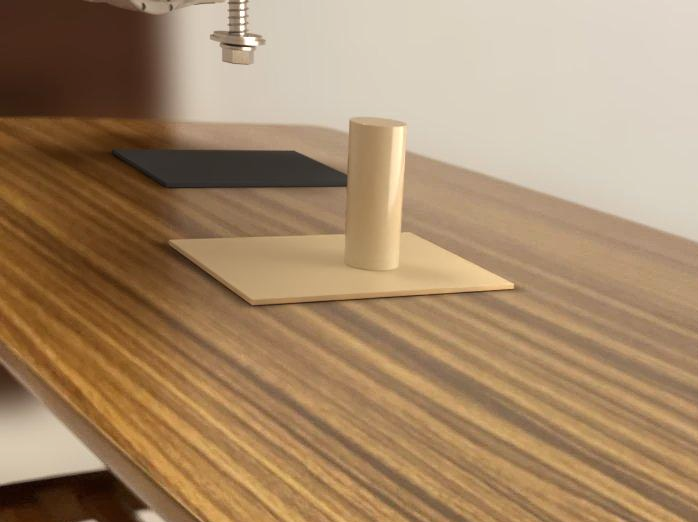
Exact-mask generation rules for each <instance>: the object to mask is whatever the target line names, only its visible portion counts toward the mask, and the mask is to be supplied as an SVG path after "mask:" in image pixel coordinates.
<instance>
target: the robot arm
mask: <svg viewBox="0 0 698 522" xmlns="http://www.w3.org/2000/svg"><path fill="white" fill-rule="evenodd" d="M84 1H85V2H90V3H97V4H98V3H106V4H108V5H110V6H113V7H116V8H119V9H124V10H128V11H134V12H139V13H143V14H150V15H164V14H167V13H170V12H172V11H175V10H179V9H183V8H187V7H190V6H197V5H198V6H199V5H210V4H211V5H212V4H213V5H214V4H224V3H225V2H226V1H227V0H84Z"/></svg>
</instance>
